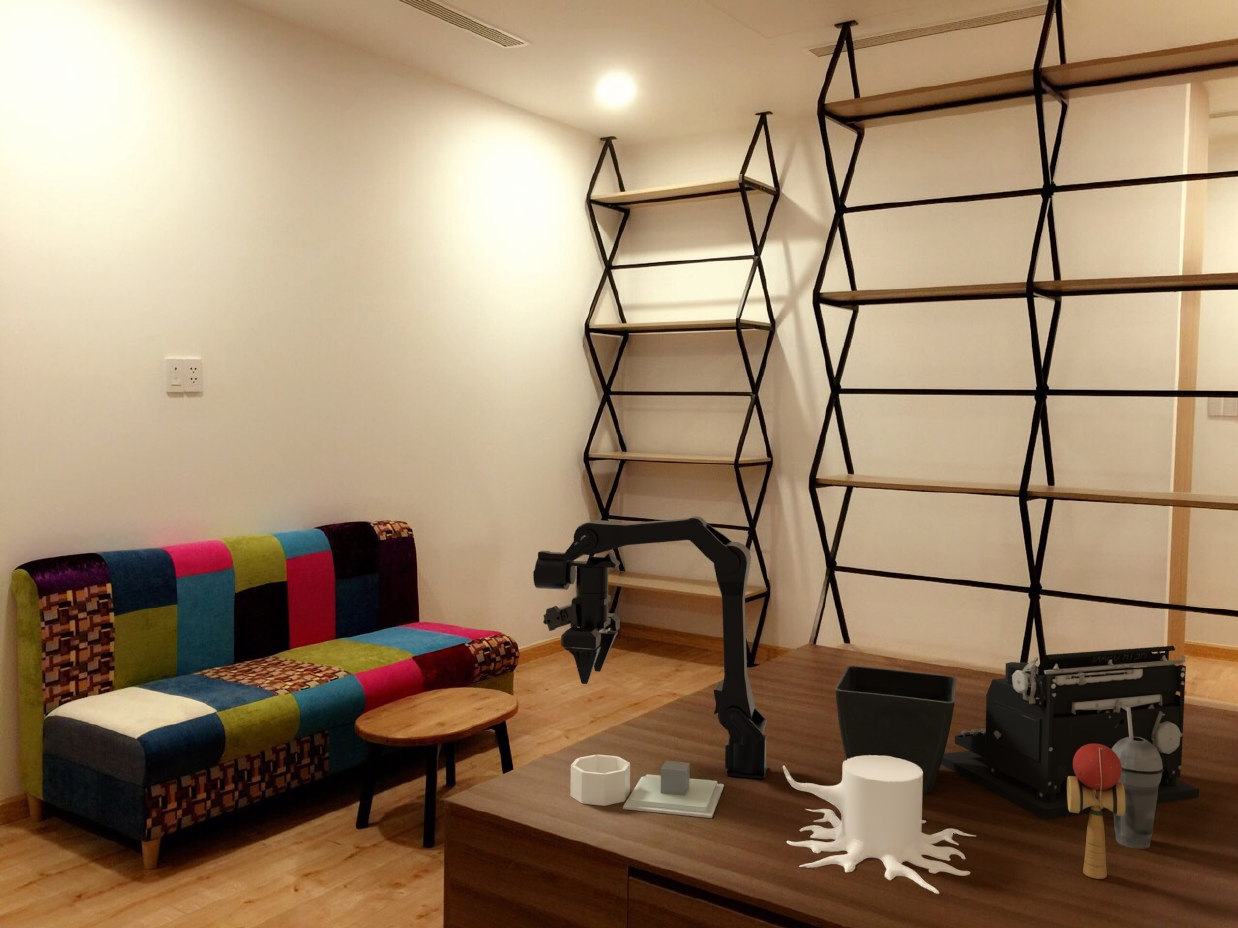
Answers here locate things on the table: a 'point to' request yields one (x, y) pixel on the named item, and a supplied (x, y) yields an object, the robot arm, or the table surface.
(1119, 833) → the beverage cup
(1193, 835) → the table surface
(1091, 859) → the kendama
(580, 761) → the bowl
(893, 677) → the flower pot
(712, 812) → the mat
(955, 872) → the tree stump
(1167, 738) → the typewriter
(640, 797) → the cover sheet
